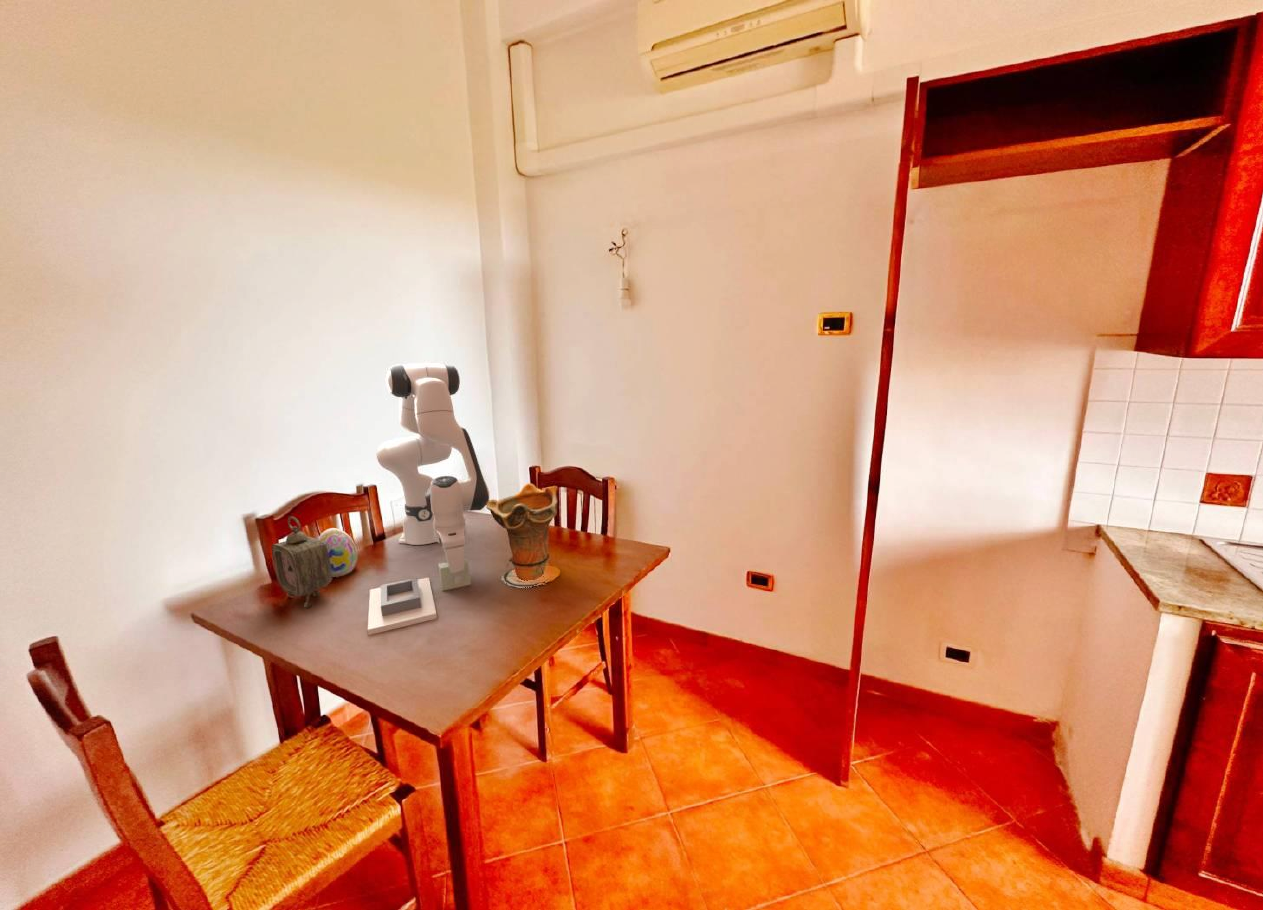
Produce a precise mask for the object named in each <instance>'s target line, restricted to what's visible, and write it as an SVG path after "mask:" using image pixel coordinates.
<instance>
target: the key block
mask: <svg viewBox="0 0 1263 910" xmlns="http://www.w3.org/2000/svg"><path fill="white" fill-rule="evenodd" d="M438 571H439V578H440V587H441V589H442V592H443V591H448V590H451V589H456V588H460V587H466V586H469V585H471V584H472V583H471V575H470V566H469V562H468V559H467V557H465V568H464V571H463V572H461V576H460V577H461V581H460V582H458V583H455V582H454V577H453V574H452V573H451V571H450V568H449V565H448V562H447V561H446V562H445V561H444V562H441V563H438Z"/></svg>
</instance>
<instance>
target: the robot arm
mask: <svg viewBox="0 0 1263 910" xmlns="http://www.w3.org/2000/svg"><path fill="white" fill-rule="evenodd" d="M459 374H460V373H459V371H458V369H457V368H456V367H455V366H454V365H451V364H447V363H442V364H440V363H432V362H431V363H429V362H423V363H409V364H407V363H406V364H403V363H399V364H393V365H391V366H390V367H389V368H388V370H387V374H386V377H385V381H386V386H387V388H388V390H389V393H390V394H392V396H394V397H397V398H399V410H398V411H399V412H398V413H399V416H398V417H399V419H398V421H399V423H400V425H401V427H402V428H403V429H405V430H406V431H408V432H411V433H414V436H409V437H401V438H394V439H391V440H388V441H384V442H382V443H381V444H379V446H378V448H377V451H376V459H377V463H378V464H379V465H380V466H381V467H382V468H383V469H385V470H386V471H388V472H390V473H392V474H393V475H395V476H396V478H397V479H398V480H399V482H400V483H401V485H402V489H403V494H404V500H405V503H404V511H405V512H404V513H405V515H406V516H405V517H404V518H403V520H402V521H401V526H402V534H401V536H400V538H399V539H398V543H399V544H408V545H412V546H413V545H415V546H420V545H428V544H432V543H438V544H439V545H440V547H441V548H442V549H443V553H444V555H445V558H446V560H447V561H446V562H448V565H449V568H450V571H451V573H452V574H453V577H454V582H455V583H458V582H460V581H461V577H460V576H461V572H463V571H464V568H465V558H466V557H465V545H466V544H467V540H466V539H467V528H466V518H465V516H464V512H465V511H466V512H467V511H470V512H472V511H481V510H483V509H484V508H486V504H487V502H488V501H490V490H489V487H488V485H487V483H486V481H485V479H484V476H483V473H482V470H481V466H480V464H479V460H478V457H477V455H476V451H475V449H474V445H473V442H472V440H471V436H470V434H469V432H468V431H467V429H466V428H464V427H461V426H460V424H459V423H458V422H457V419H456V418H455V417H456V416H455V413H454V406H453V401H452V398H451V396H453V395H456V393H457V392H459V390H460V389H459V388H460V384H461V380H460V379H461V378H460V375H459ZM452 448H453V449H455V450H456V451H458V452H459V454H461V457H462V459H463V463H464V466H465V469H466V471H467V475H468V477H467V478H466V479H463V480H461V479H459V480H458V478H457V477H455V476H452V475H443V476H442V475H441V476H438V477H435V478H433V477H432V476H429V475H426V474H423V473H420V472H419V468H418V467H421V466H428V465H434V464H438V463H440V462H443V461H446V460H448V459H449V458H450V456H451V454H452V450H453V449H452Z"/></svg>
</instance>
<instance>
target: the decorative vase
mask: <svg viewBox="0 0 1263 910" xmlns="http://www.w3.org/2000/svg"><path fill="white" fill-rule="evenodd" d="M558 489H559V487H558V486H556V485H553V486H548V487H545V489H544V490H542V489H540V488H538V487H537V486H536V485H535V484H534V483H531V482H530V483H529V482H528V483H527V484H525V485H524V486H523V487H522V488H521V491H520V492H518V493H516V494H514V495H511V496H510V495H509V496H507V497H505V498H501V499H498V500H497V499H489V501H488V502H487V504H486V506H485V508H486V509H487V510H488V511H490V514H491V516H492V518H493V519H494V520H495V522H496V523H497V524H498V525H499V526H501V527H502V528H503V529H505V530H506V533H507V538H508V543H509V546H510V547H509V548H510V551H511V557H510V559H508V563H507V565H506V567H508V566H509V563H510V562H511V564H512V565H513V567H512V568H511V569H510V570H509V571H507V572H506V573H504V574H503V575H502V576H501V579H500V580H501V581H503V583H504V584H506V583H507V584H506V585H507V586H509V587H512V588H513V587H514V588H517V589H530V588H532V586H534V585H535V586H536V585H537V584H539V583H545V581H544V582H537V583H536V582H535V584H519V583H525V582H522V581H519V580H513V579H512V578H509V577H515V576H514V575H512V570H515V573H516V575H517V576H516V577H518V578H519V579H521V580H524V581H525V580H526V581H528V580H535V579H537V578H539V577H541V576H542V575H543V574H544V571H545V567H546V565H547V564H548V561H549V557H550V554H549V542H550V541H549V527H550V524H551V522H552V521H553V519H554V518H555V517H557V514H558V513H557V512H558V496H557V492H558ZM543 577H544V576H543ZM547 580H549V579H547ZM547 580H546V581H547ZM530 583H532V582H530ZM533 583H534V582H533ZM525 587H526V588H525ZM527 587H528V588H527ZM529 587H530V588H529Z"/></svg>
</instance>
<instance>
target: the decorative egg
mask: <svg viewBox="0 0 1263 910" xmlns="http://www.w3.org/2000/svg"><path fill="white" fill-rule="evenodd" d="M317 539H318V540H320V541H322V542H324V543H325V544H326V546H327V549H328V553H329V558H330V564H331V570H332V577H336V578H340V576H341V577H343V576H346V575H348V574H350V573H351V572H352V571H354V569H355V567H356V565H357V561H358V549H357V546H356V544H355V542H354V540H353V538H352V537H351V536H350V535H349V534H348V533H346V532H345V531H344V530H342V529H339V528H335V527H329V528H327V529H326V530H324V531H323V532H322V533H321V534H320V535H319V536H318V538H317Z"/></svg>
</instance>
